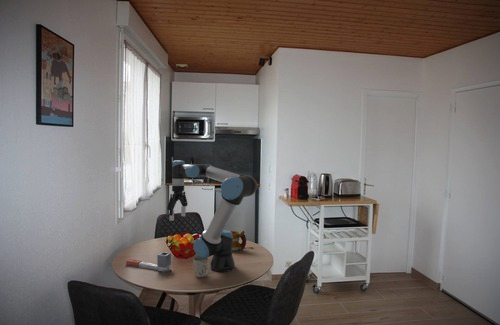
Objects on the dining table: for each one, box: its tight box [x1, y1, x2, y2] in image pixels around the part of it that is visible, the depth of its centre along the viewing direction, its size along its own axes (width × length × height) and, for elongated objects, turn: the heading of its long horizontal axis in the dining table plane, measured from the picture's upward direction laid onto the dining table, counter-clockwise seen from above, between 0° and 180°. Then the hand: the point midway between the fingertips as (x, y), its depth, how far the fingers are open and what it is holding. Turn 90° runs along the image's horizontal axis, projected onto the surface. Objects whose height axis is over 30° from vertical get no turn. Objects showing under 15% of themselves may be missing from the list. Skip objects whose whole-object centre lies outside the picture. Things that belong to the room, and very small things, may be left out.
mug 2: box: [230, 230, 247, 253], centre depth 231 cm, size 11×16×15 cm, turn 72°
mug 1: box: [192, 255, 211, 278], centre depth 183 cm, size 8×13×10 cm, turn 51°
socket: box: [156, 251, 172, 268], centre depth 190 cm, size 6×6×7 cm
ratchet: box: [125, 258, 171, 274], centre depth 194 cm, size 30×7×8 cm, turn 71°
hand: (177, 218), depth 202 cm, fingers open, 13 cm apart
